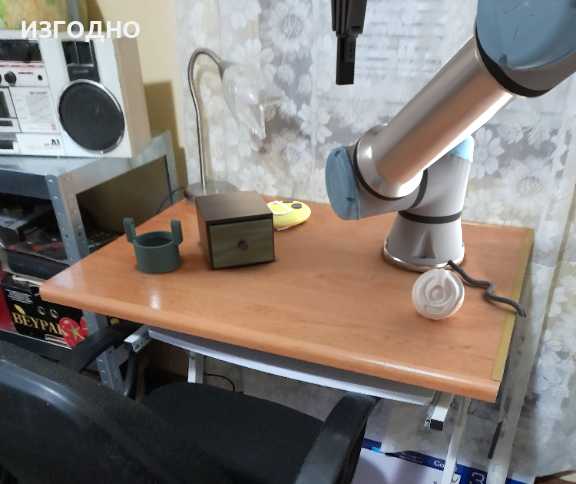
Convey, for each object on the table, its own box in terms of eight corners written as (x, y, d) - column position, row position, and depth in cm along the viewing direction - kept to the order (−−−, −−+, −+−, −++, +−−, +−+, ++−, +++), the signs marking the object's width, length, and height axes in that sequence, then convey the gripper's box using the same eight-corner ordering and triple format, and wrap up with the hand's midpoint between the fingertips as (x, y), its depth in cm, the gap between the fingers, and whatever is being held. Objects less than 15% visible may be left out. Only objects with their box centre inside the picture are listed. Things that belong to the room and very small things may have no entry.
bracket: (189, 266, 102) (183, 221, 96) (143, 278, 98) (134, 231, 93) (172, 250, 108) (166, 207, 102) (129, 260, 104) (119, 216, 99)
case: (274, 261, 103) (273, 212, 97) (211, 270, 100) (205, 221, 94) (258, 234, 113) (256, 189, 107) (200, 242, 110) (194, 196, 105)
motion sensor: (405, 323, 84) (411, 279, 79) (412, 300, 90) (419, 258, 85) (457, 331, 82) (466, 287, 77) (461, 307, 88) (470, 265, 83)
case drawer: (274, 262, 100) (273, 222, 95) (215, 270, 98) (211, 230, 93) (258, 235, 111) (256, 198, 106) (204, 242, 108) (199, 204, 103)
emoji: (273, 221, 110) (320, 205, 114) (246, 205, 118) (291, 190, 122) (275, 239, 112) (321, 222, 117) (248, 222, 120) (292, 207, 125)
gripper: (313, -102, 78) (311, 79, 93) (344, -113, 68) (337, 92, 83) (360, -102, 80) (351, 76, 94) (397, -112, 70) (381, 89, 85)
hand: (344, 84), depth 89 cm, fingers closed
